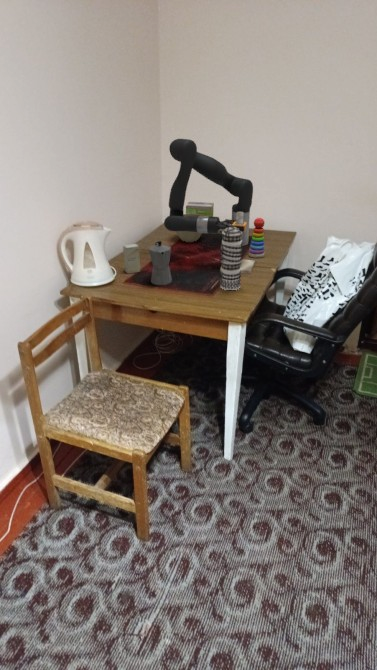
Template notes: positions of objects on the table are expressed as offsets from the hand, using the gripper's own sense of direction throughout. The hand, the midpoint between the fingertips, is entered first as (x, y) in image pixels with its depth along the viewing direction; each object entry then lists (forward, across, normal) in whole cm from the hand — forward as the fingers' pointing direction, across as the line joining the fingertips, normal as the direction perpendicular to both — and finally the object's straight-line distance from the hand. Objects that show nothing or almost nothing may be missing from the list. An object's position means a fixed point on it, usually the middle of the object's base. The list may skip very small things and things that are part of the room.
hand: (244, 227), depth 203 cm
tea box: (-35, +57, +19) cm, 70 cm away
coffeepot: (-32, -24, +19) cm, 44 cm away
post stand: (-3, 0, +19) cm, 19 cm away
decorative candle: (-1, -24, +19) cm, 31 cm away
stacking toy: (+4, +18, +19) cm, 27 cm away
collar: (-3, 0, +1) cm, 3 cm away
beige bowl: (-36, +35, +19) cm, 54 cm away
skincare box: (-49, -16, +19) cm, 55 cm away
